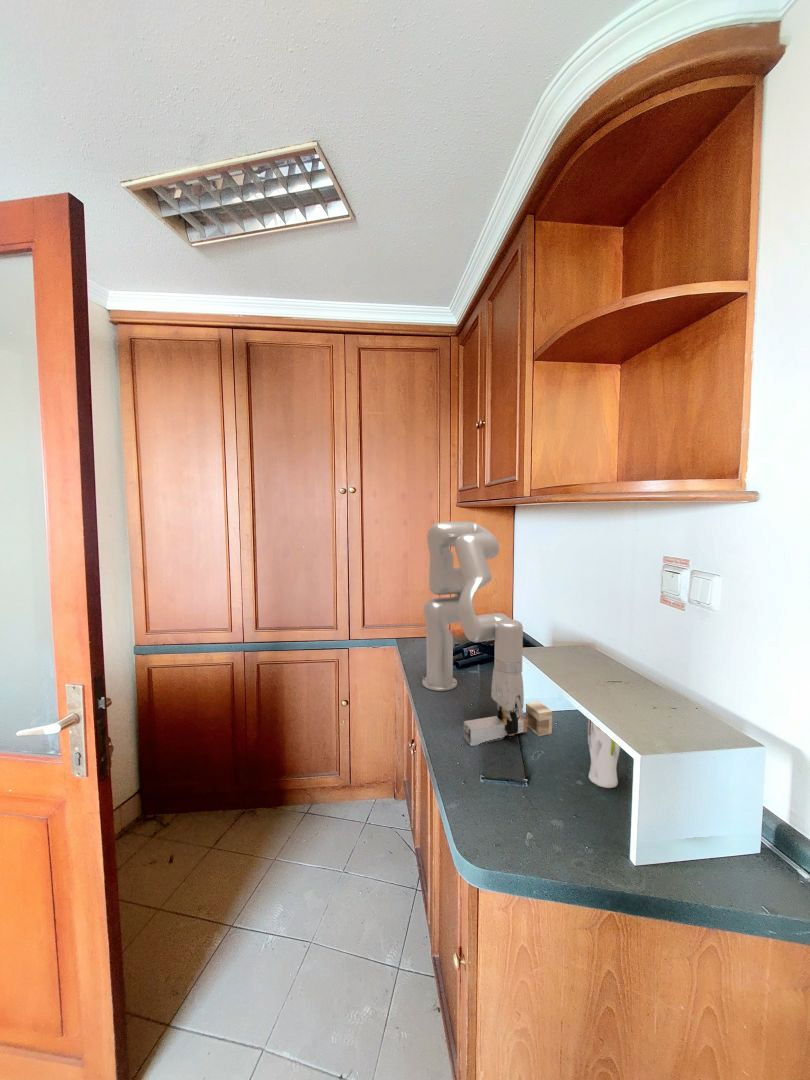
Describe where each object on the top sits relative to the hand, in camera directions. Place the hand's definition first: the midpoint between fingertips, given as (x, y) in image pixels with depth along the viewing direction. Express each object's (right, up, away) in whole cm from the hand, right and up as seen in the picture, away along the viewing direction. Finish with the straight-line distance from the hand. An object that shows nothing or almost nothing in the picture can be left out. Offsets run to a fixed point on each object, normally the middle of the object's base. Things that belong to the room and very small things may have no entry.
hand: (507, 728), depth 115 cm
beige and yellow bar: (-3, -2, -1) cm, 3 cm away
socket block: (+10, -2, +3) cm, 10 cm away
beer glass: (+17, -3, -20) cm, 26 cm away
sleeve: (-7, -2, -2) cm, 8 cm away
